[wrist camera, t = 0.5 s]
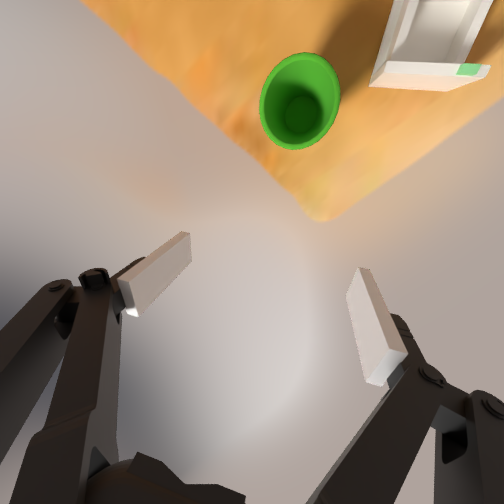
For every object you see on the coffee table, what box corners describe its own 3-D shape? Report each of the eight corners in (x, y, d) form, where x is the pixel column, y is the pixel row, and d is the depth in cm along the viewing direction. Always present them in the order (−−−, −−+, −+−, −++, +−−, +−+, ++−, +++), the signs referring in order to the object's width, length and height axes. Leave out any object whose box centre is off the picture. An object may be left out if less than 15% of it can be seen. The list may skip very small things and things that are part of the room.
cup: (337, 78, 29) (350, 49, 20) (324, 148, 34) (330, 151, 24) (275, 79, 31) (261, 53, 22) (270, 146, 36) (257, 148, 26)
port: (399, -21, 24) (433, -81, 18) (498, -23, 22) (575, -89, 16) (368, 86, 29) (385, 70, 23) (446, 91, 27) (489, 76, 21)
